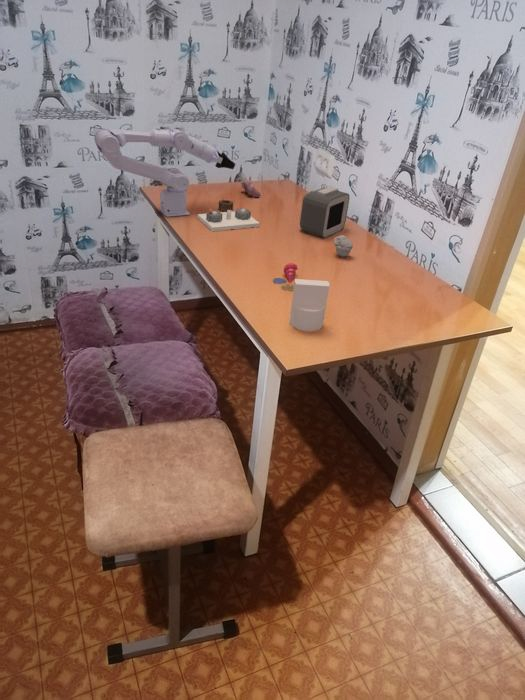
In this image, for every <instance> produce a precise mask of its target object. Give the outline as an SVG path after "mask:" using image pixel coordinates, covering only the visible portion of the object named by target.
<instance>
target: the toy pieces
mask: <svg viewBox="0 0 525 700" xmlns="http://www.w3.org/2000/svg"><path fill="white" fill-rule="evenodd" d="M298 269H299V268H298V265H297V264H296V263H293V262H290V263H287V264H286V265H284V267H283V273H284V275H285V277H286V279H284V278H282V277H275V278H274V279H273V280H272V282H273V285H275V284H276V285H281V290H283V291H286V292H287V291H288V292H293V291H294V284H292V282H293V280H294V278H295V276H296V273H297V270H298ZM287 281H288V282H289V284H288V283H287Z"/></svg>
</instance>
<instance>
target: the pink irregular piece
mask: <svg viewBox="0 0 525 700" xmlns="http://www.w3.org/2000/svg"><path fill="white" fill-rule="evenodd" d="M240 183H241V188H242V189H244V191H245V193H246V192H247V193H248V195H249V197H255V198H257V197H260V198H261V195H262V194H261V192H259V191H258V190H257V189H256V187H255V186H254V185H253V183H252V182H251V181H249V180H246V179H245V180H243V181H241V182H240ZM247 193H246V194H247Z"/></svg>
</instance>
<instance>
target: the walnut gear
mask: <svg viewBox="0 0 525 700" xmlns="http://www.w3.org/2000/svg"><path fill="white" fill-rule="evenodd" d="M227 210H233V211H234V201H232V200H230V199H222V200H218V211H220V212H222V211H224V212H225V211H227Z"/></svg>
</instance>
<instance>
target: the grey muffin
mask: <svg viewBox="0 0 525 700" xmlns="http://www.w3.org/2000/svg"><path fill="white" fill-rule="evenodd" d="M333 243H334V244H333V245H334V248H335V252H336V254H337V255H338V256H339V257H341V258H343V257H348V255H350V253H351V251H352V250H353V248H354V244H353V243H352V242H351V240H350V239H349V238H348V237H347V236H345V235H343V234H341V235H337V236H336V237H334V238H333Z"/></svg>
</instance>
